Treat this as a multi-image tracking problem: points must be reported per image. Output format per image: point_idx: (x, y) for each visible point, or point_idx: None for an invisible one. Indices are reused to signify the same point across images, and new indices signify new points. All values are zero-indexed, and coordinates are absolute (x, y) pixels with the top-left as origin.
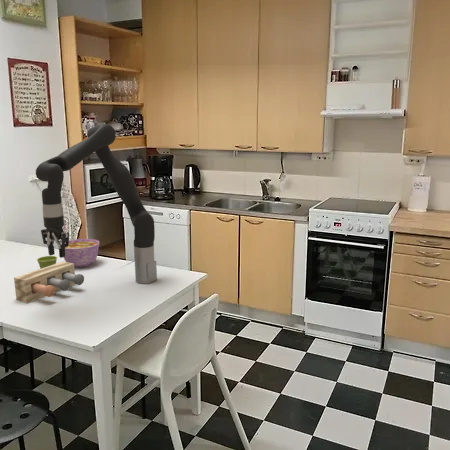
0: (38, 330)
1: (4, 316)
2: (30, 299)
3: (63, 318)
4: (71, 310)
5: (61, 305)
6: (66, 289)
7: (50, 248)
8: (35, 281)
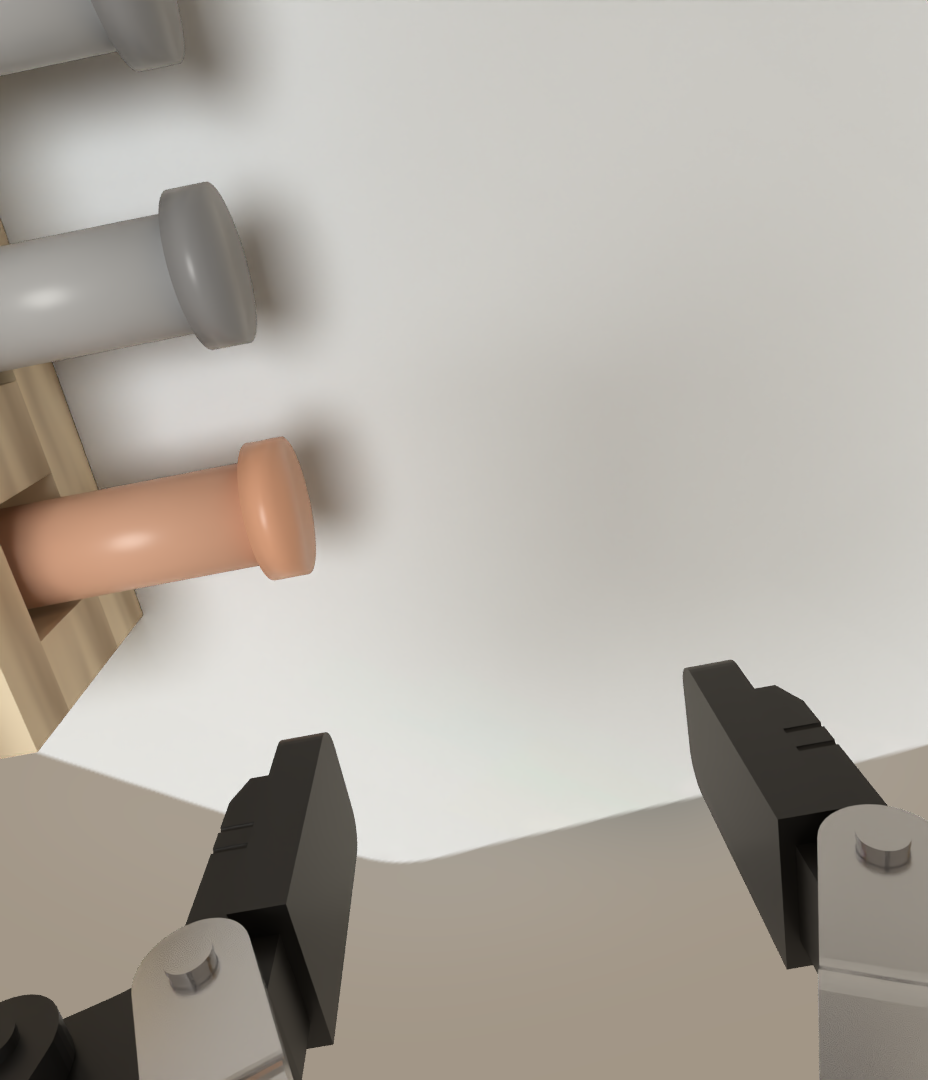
0: None
1: None
2: None
3: (728, 565)
4: (635, 427)
5: (445, 426)
6: (241, 255)
7: (333, 963)
8: (8, 584)
